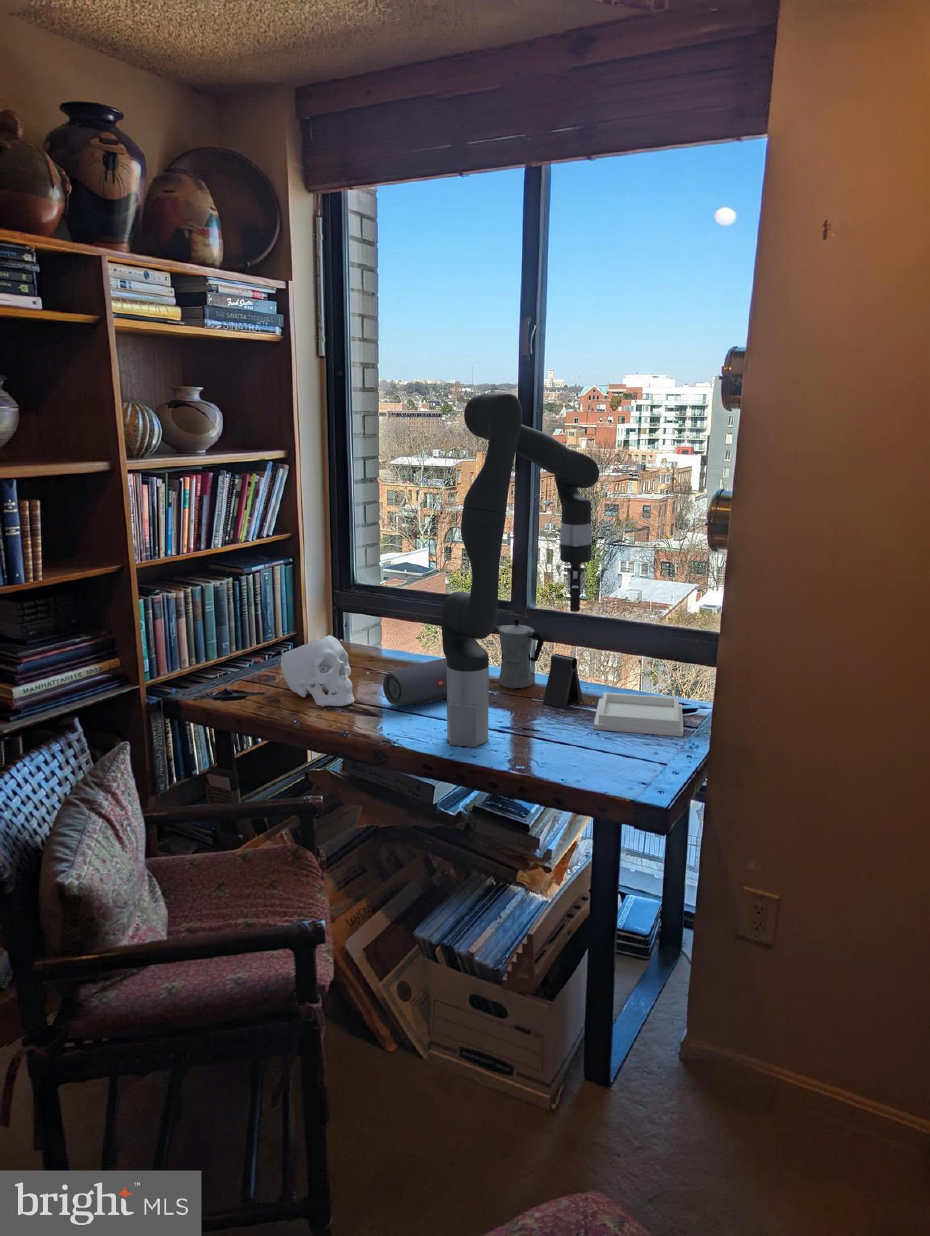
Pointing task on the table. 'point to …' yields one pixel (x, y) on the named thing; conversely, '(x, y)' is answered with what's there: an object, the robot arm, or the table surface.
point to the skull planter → (319, 671)
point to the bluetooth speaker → (417, 683)
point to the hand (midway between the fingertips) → (575, 606)
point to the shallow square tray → (639, 714)
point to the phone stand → (562, 682)
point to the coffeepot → (517, 654)
